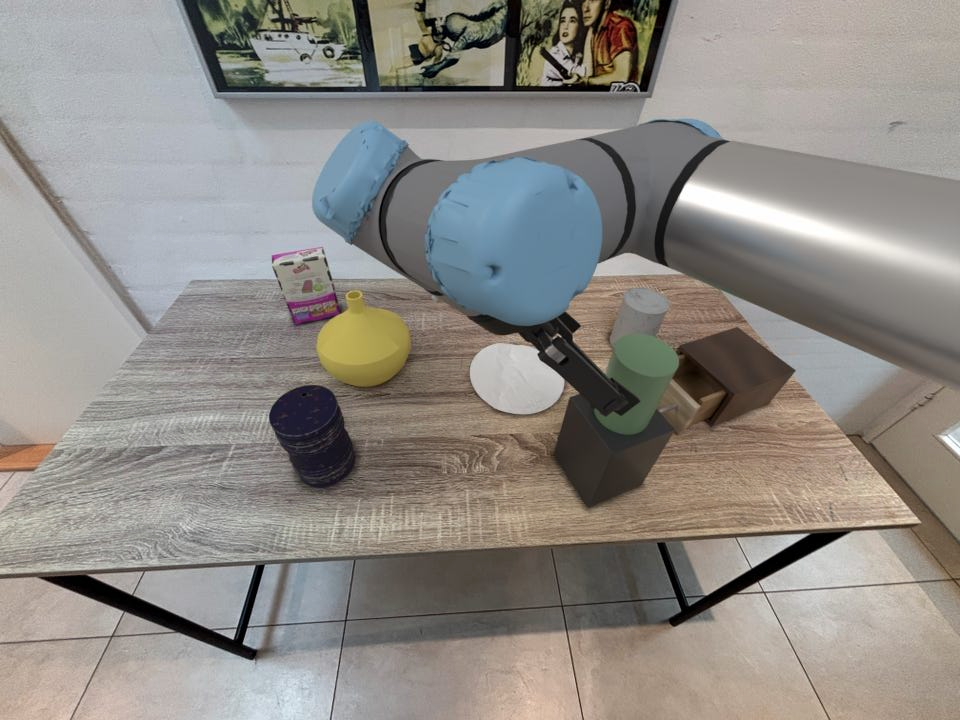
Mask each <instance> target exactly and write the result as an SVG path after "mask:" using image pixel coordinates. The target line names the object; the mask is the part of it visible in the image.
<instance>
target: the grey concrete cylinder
mask: <svg viewBox="0 0 960 720" xmlns="http://www.w3.org/2000/svg"><path fill="white" fill-rule="evenodd" d="M670 303H671V302H670V301H669V299H668V297H666V295H664V294H663V293H661V292H660V291H658V290H656V289H652V288H649V287H643V286H642V287H641V286H639V287H638V286H637V287H632V288H629V289H627V290H626V291H625V292H624V294H623V297H622V300H621V303H620V306H619V309H618V313H617V315H616V319H615V321H614V325H613V328H612V331H611V334H610V335H609V344H610V346H611V347H612V348H613V349H614V346H615V343H616V342H617V341H618V339H620V338H621V337H623V336H625V335H629V334H646V335H650V336H653V337H656V338H657V336H658V334H659V332H660V329H661V326H662V324H663V321H664V320H665V317H666V315H667V313H668V310H669V309H670V306H671V304H670Z"/></svg>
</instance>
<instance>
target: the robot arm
mask: <svg viewBox="0 0 960 720" xmlns="http://www.w3.org/2000/svg"><path fill="white" fill-rule="evenodd" d="M311 209H312V211H313V214H314V216H315V217H316V219H317V220H318V221H319V222H320V223H322V224H323V225H324V226H325V227H327V228H328V229H330V230H332V232H334V233H336V234H337V235H338V236H339V237H341V238H342V239H343V240H344V241H345V243H347V244H349V245H350V246H352V245H353V246H355V247H356V248H358V249H359V250H361V251H363V252H364V253H365V254H367V255H369V256H371V257H372V258H374V259H375V260H377V261H378V262H380V263H381V264H383V265H385V266H386V267H388V268H389V269H391V270H392V271H394V272H395V273H397V274H399V275H400V276H402V277H404V278H406V279H407V280H409V281H410V282H412V283H413V284H416V286H419V287H420V288H422V289H423V290H424V291H425V292H427V293H429V294H430V298H431V299H432V301H433V302H434V303H436V304H439V303H441V302H444V303H445V304H447V305H448V306H450V307H451V308H452V309H454V310H456V311H457V312H459V313H460V314H461V315H463V316H466V317H467V319H469V320H470V321H472V322H473V323H475V324H476V325H478V326H479V327H481V328H483V329H484V330H485V331H487V332H489V333H490V334H492V335H494V336H495V335H496V336H501V337H502V336H503V337H504V336H509V335H514V334H518V335H519V336H520V337H521V339H523V340H524V341H525V342H526V343H530V344H531V345H532V346H533V347H534V348H535V349H537V350H538V351H539V353H538V354H537V355H538V357H539V359H540V361H541V362H544V363H545V364H546V365H548V366H549V367H550V368H552V369H553V370H554V371H556V372H557V373H558V374H559V375H560V376H561V377H562V378H563V379H564V381H565V382H567V384H569V386H571V387H572V388H573V389H574V390H575V391H576V392H577V393H578V394H581V395H582V396H583V397H584V398H585V399H586V400H587V401H588V402H589V403H590V408H591V409H593V410H594V409H595V408H596V409H597V410H598V411H599V412H600V413H601V414H602V415H604V417H607V416H608V415H609V414H611V413H612V412H613V411H614V412H615V413H617V414H618V415H620V416H622V415H624V414H625V413H626V412H628V411H629V410H630V409H632V408H633V407H634V406H635V405H637V404H638V403H639V402H641V401H640V400H639V399H638V398H637V396H635V395H634V394H633V393H631V392H630V391H629V390H627V389H626V388H625V387H624V386H622V385H621V384H620V383H618V382H617V381H616V380H614V379H613V378H612V377H611V378H610V379H609V378H608V377H607V376H606V375H605V372H604V371H603V370H602V369H601V368H600V367H599V366H598V365H597V364H596V363H595V362H594V361H593V360H592V359H591V358H590V356H589V355H587V353H585V352H584V351H583V349H581V347H580V346H579V345H578V344H576V342H575V341H574V333H575V332H576V331H578V330H579V329H580V328H581V327H582V325H581V324H580V323H579V321H577V320H576V319H575V318H574V317H572V315H570V313H568V312H567V311H568V309H569V308H570V303H571V302H572V301H573V300H574V299H575V297H577V296H579V295H581V294H583V293H584V292H585V291H586V289H587V288H588V286H589V285H590V282H591V280H592V278H593V276H594V274H595V272H596V269H597V267H598V264H601V263H604V262H606V261H608V260H610V259H614V258H616V257H619V256H621V255H624V254H633V255H636V256H638V257H640V258H643V259H645V260H648V261H650V262H651V263H654V264H657V265H661V266H663V267H666V268H669V269H670V270H673V271H676V272H678V273H680V274H683V275H684V276H687V277H689V278H692V279H694V280H696V281H699V282H700V283H704V284H706V285H708V286H710V287H713V288H715V289H718V290H720V291H722V292H723V293H726V294H729V295H731V296H733V297H736V298H738V299H741V300H743V301H745V302H747V303H750V304H752V305H755V306H757V307H759V308H762V309H764V310H766V311H768V312H771V313H773V314H776V315H778V316H779V317H783V318H785V319H788V321H789V320H790V321H792V322H794V323H797V324H799V325H801V326H804V327H805V328H809V329H811V330H813V331H815V332H818V333H819V334H822V335H824V336H827V337H829V338H830V339H834V340H836V341H838V342H841V343H843V344H845V345H848V346H850V347H852V348H854V349H856V350H859V351H862V352H863V353H866V354H869V355H871V356H873V357H875V358H878V359H879V360H882V361H884V362H887V363H890V364H892V365H894V366H896V367H899V368H901V369H903V370H905V371H907V372H910V373H913V374H915V375H917V376H920V377H922V378H924V379H927V380H929V381H931V382H933V383H935V384H938V385H940V386H943V387H945V388H948V389H949V390H952V391H954V392H956V393H958V394H960V179H955V178H950V177H943V176H938V175H932V174H926V173H920V172H915V171H910V170H903V169H897V168H891V167H886V166H880V165H875V164H869V163H863V162H857V161H852V160H846V159H840V158H834V157H828V156H823V155H817V154H812V153H805V152H799V151H793V150H788V149H783V148H778V147H771V146H767V145H759V144H755V143H749V142H742V141H737V140H728V139H725V138H724V137H722V136H721V134H720V133H719V132H718V131H717V130H716V129H715V128H714V127H713V126H712V125H710V124H708V123H707V122H705V121H703V120H699V119H694V118H678V119H676V118H657V119H656V118H655V119H651V120H649V121H647V122H643V123H639V124H637V125H634V126H629V127H626V128H622V129H616V130H613V131H607V132H604V133H599V134H595V135H594V134H593V135H590V136H587V137H586V136H585V137H582V138H577V139H571V140H567V141H562V142H556V143H553V144H548V145H547V144H546V145H543V146H538V147H533V148H528V149H523V150H519V151H513V152H509V153H504V154H500V155H495V156H494V155H493V156H491V157H484V158H477V159H465V160H464V159H462V160H461V159H459V160H458V159H457V160H443V159H435V158H422V157H420V156H419V155H418V154H416V153H415V151H414V150H413V149H411V148H410V146H409V143H408V141H406V140H405V139H402V138H400V137H398V136H397V135H396V134H395V133H394V132H392V131H391V130H390V129H388V128H387V127H385V126H384V125H383V124H382V123H379V122H378V121H375V120H366V121H362V122H360V123H357V125H355V126H354V127H353V128H352V129H350V131H348V133H346V134H345V135H344V137H343V138H342V139H341V140H340V142H339V143H338V144H337V145H336V146H335V148H334V150H333V151H332V152H331V154H330V156H329V157H328V159H327V161H326V162H325V164H324V166H323V167H322V169H321V171H320V173H319V175H318V178H317V180H316V182H315V185H314V188H313V192H312V197H311Z"/></svg>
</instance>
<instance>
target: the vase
mask: <svg viewBox="0 0 960 720" xmlns="http://www.w3.org/2000/svg"><path fill="white" fill-rule="evenodd" d="M345 301H346V303H347V310H345V311H343V312H341V314H339V315H337V316H335V317H331V318H330V319H329V320H328V321H327V322H326V323H325V324H324V325H323V326H322V327H321V329H320V331H319V333H318V334H317V339H316V348H315V349H316V352H317V355H318V358H319V361H320V364H321V365H322V367H323V368H324V369H325V370H326V371H327V372H328V373H329V374H330V375H332V376H333V378H335V379H336V380H339V382H342V383H344V384H347V385H351V386H355V387H359V388H360V387H362V388H368V387H374V386H378V385H381V384H384V383H385V382H387V381H390V380H391V379H392V378H393V377H394V376H395V375H397V374H398V373H399V372H400V371H401V370H402V368H403V367H404V365H405V364H406V361H407V360H408V357H409V354H410V351H411V349H412V348H411V347H412V343H411V332H410V329H409V328H408V326H407V324H406V322H405V321H404V319H403V318H402V317H400V316H399V315H398V314H397V313H395V312H393V311H390V310H388V309H384V308H380V307H371V306H367V305H365V300H364V296H363V292H361V291H360V290H350V291H348V292H347V293H346V294H345Z"/></svg>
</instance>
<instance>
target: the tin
mask: <svg viewBox="0 0 960 720" xmlns="http://www.w3.org/2000/svg"><path fill="white" fill-rule="evenodd" d="M678 366H679V358H678V355H677V353H676V350H675V349H674V348H673V347H672V346H671V345H669V343H668V342H666V341H665V340H662V339H660V338H658V337H657V336H656V337H653V336H650V335H646V334H629V335H625V336H623V337H621V338H620V339H618V341H617V342H616V343H615V346H614V348H613V349H612V351H611V355H610V358H609V360H608V363H607V366H606V368H605V372H604V374H605V375H606V376H607V377H608V378H609V379H610V378H611V377H612V378H613V379H614V380H616V381H617V382H618V383H620V384H621V385H622V386H624V387H625V388H626V389H627V390H629V391H630V392H631V393H633V394H634V395H635V396H637V398H638V399H639V400H640V401H641V402H639V403H638V404H637V405H635V406H634V407H633V408H632V409H630V410H629V411H628V412H626V413H625V414H624V415H622V416H620V415H618V414H617V413H615V412H614V411H613V412H612V413H611V414H609V415H608V416H607V417H604V415H602V414H601V413H600V412H599V411H598V410H597V409H596V408H595V409H594V413H595V415H596V417H597V419H598V420H599V421H600V423H601V424H602V425H604V426H605V427H606V428H608V429H609V430H611V431H613V432H616V433H619V434H624V435H632V434H637V433H640V432H642V431H643V430H644V429H645V428H646V427H647V426H648V424H649V422H650V420H651V418H652V416H653V414H654V412H655V410H656V408H657V406H658V405H659V403H660V401H661V399H662V397H663V395H664V393H665V391H666V389H667V387H668V385H669V384H670V382H671V380H672V378H673V376H674V374H675V372H676V370H677V368H678Z"/></svg>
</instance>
